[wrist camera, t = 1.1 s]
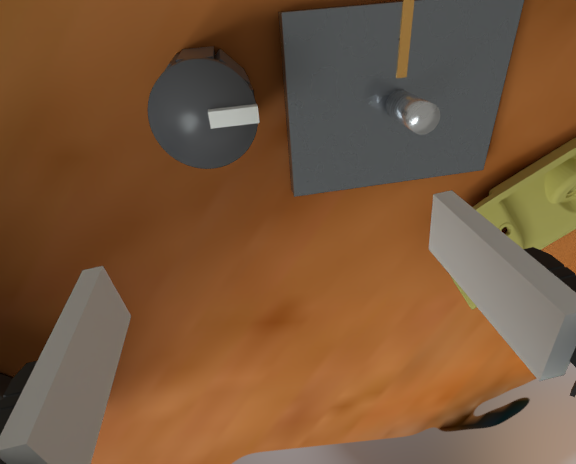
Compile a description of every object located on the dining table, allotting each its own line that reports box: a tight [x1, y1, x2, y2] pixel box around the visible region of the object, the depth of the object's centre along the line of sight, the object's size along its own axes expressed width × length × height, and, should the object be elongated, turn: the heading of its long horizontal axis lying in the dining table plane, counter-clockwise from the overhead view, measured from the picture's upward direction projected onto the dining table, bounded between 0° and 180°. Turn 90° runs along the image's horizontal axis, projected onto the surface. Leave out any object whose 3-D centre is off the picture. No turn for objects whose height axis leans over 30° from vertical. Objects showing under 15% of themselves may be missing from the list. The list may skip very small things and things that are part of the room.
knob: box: [148, 46, 260, 169], centre depth 25 cm, size 7×7×7 cm
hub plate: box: [278, 0, 524, 197], centre depth 28 cm, size 18×15×6 cm
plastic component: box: [451, 138, 576, 309], centre depth 38 cm, size 20×7×10 cm
